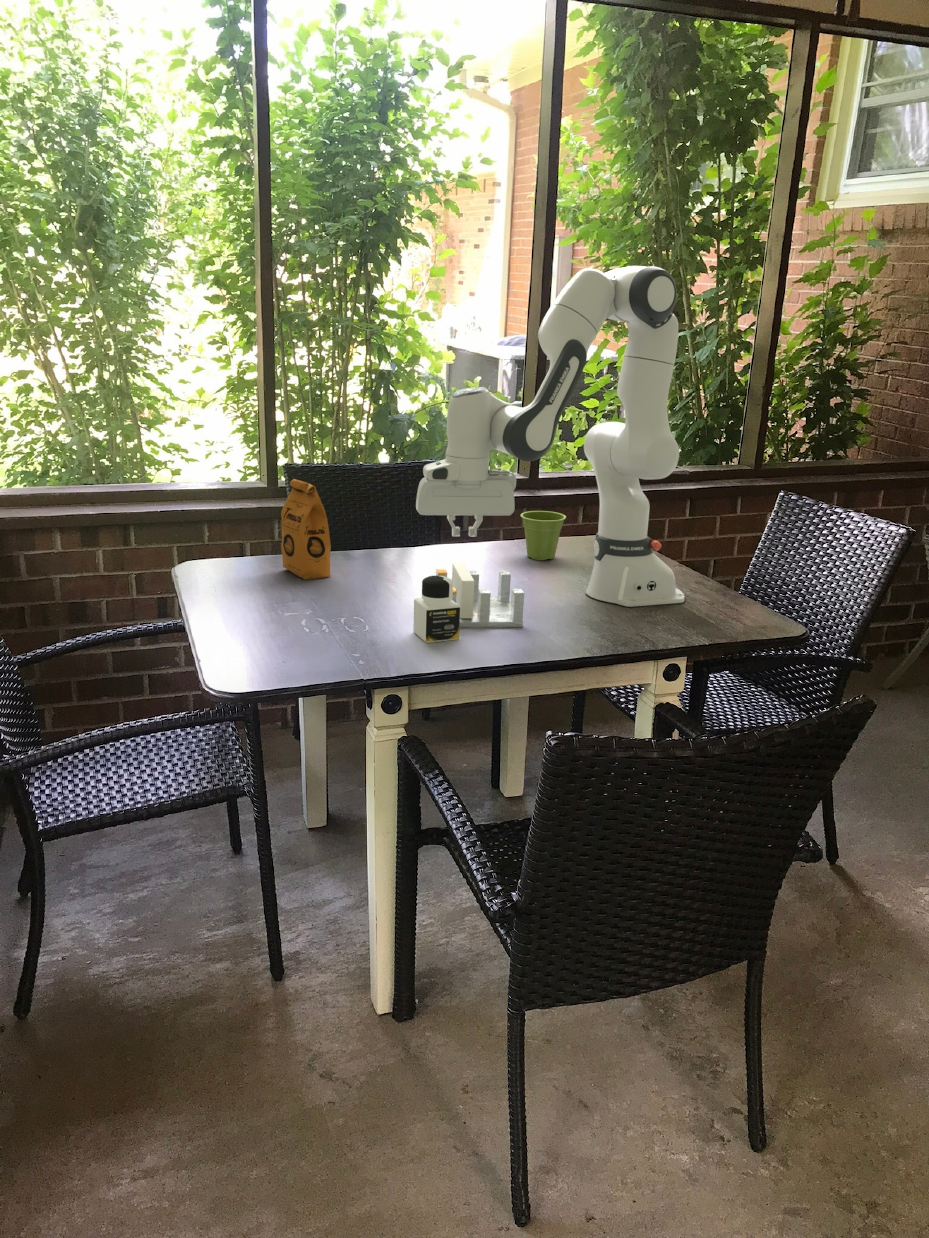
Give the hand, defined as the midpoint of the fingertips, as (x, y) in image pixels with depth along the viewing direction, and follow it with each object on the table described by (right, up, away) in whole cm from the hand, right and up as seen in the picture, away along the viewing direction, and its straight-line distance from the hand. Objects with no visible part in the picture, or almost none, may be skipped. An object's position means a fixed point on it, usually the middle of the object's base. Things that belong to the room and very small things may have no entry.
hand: (464, 536), depth 200 cm
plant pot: (+20, -1, +55) cm, 58 cm away
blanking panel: (0, -15, +5) cm, 16 cm away
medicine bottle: (-6, -21, -9) cm, 23 cm away
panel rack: (+3, -16, +6) cm, 17 cm away
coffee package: (-38, -7, +31) cm, 49 cm away
